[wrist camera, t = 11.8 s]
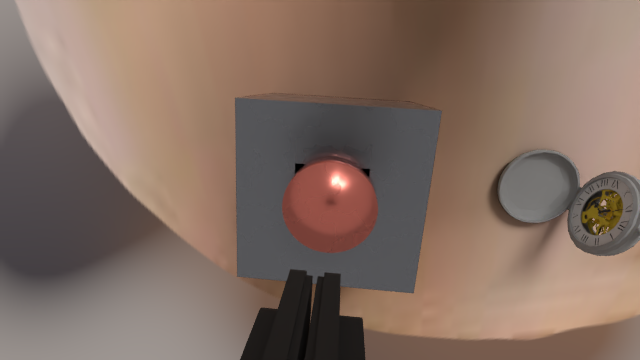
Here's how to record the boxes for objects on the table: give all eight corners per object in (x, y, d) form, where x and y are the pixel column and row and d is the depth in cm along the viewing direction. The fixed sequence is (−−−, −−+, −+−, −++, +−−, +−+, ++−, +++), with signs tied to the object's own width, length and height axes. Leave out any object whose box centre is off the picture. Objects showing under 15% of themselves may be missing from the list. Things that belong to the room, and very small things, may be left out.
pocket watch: (489, 159, 30) (555, 195, 21) (590, 133, 29) (711, 157, 19) (503, 241, 32) (570, 307, 22) (599, 219, 31) (713, 281, 21)
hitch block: (409, 101, 29) (441, 110, 19) (393, 229, 33) (413, 293, 23) (272, 92, 30) (235, 97, 20) (270, 218, 33) (237, 276, 23)
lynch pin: (369, 135, 30) (382, 166, 19) (363, 195, 31) (372, 256, 20) (306, 131, 30) (283, 159, 19) (304, 190, 32) (280, 248, 21)
